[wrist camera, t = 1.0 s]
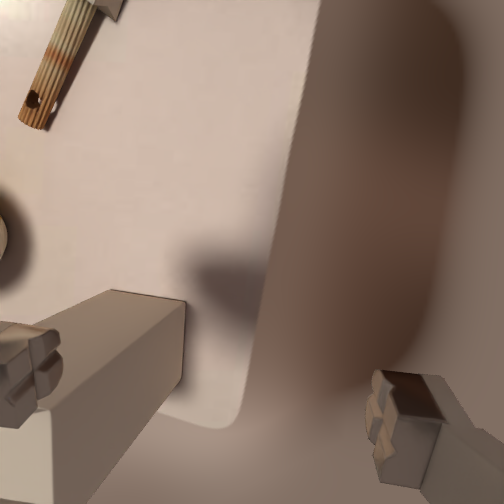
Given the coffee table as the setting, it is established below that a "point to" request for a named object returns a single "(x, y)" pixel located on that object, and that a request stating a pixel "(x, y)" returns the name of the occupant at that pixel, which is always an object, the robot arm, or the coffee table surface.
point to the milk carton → (94, 396)
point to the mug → (2, 237)
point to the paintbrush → (61, 57)
